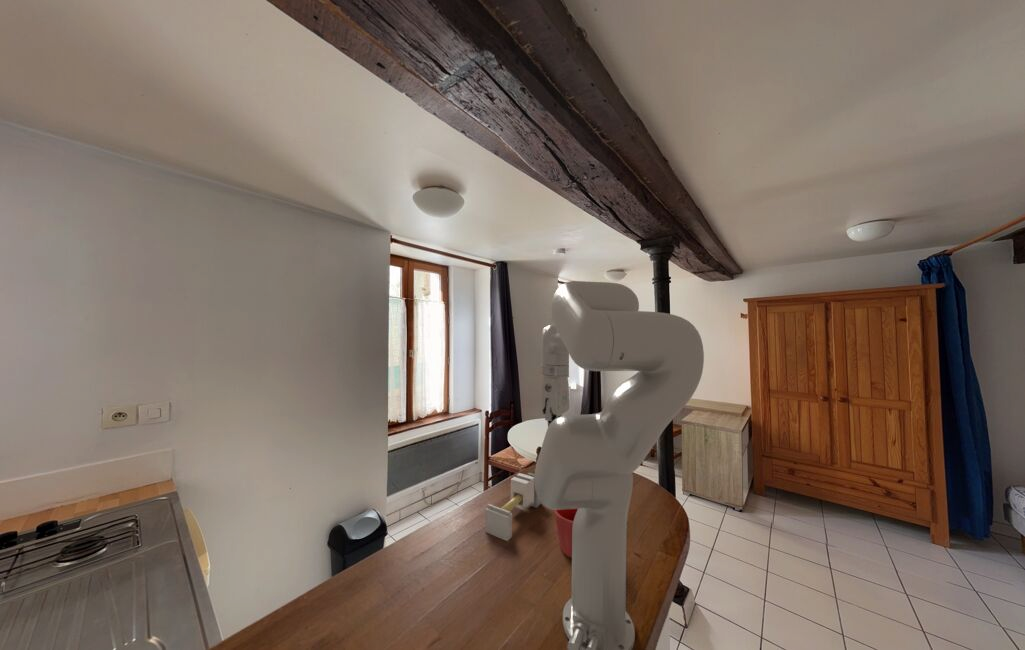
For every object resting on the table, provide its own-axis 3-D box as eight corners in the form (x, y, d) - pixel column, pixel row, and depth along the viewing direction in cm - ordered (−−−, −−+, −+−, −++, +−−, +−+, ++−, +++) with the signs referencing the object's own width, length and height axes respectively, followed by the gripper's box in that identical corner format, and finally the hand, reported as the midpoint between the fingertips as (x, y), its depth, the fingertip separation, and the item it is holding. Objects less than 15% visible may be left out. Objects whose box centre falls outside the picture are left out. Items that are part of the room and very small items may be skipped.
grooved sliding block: (525, 510, 91) (526, 483, 91) (510, 505, 93) (510, 478, 94) (533, 503, 95) (534, 476, 95) (518, 497, 98) (519, 472, 98)
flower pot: (547, 554, 76) (547, 513, 76) (562, 530, 86) (562, 493, 86) (591, 570, 71) (591, 526, 71) (601, 542, 81) (602, 504, 81)
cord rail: (507, 541, 81) (508, 505, 81) (485, 531, 84) (486, 497, 85) (543, 504, 98) (544, 475, 99) (524, 498, 102) (524, 469, 102)
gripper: (558, 374, 78) (557, 449, 77) (576, 370, 92) (576, 434, 91) (531, 372, 82) (530, 444, 81) (552, 368, 95) (551, 430, 94)
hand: (554, 439), depth 86 cm, fingers closed
